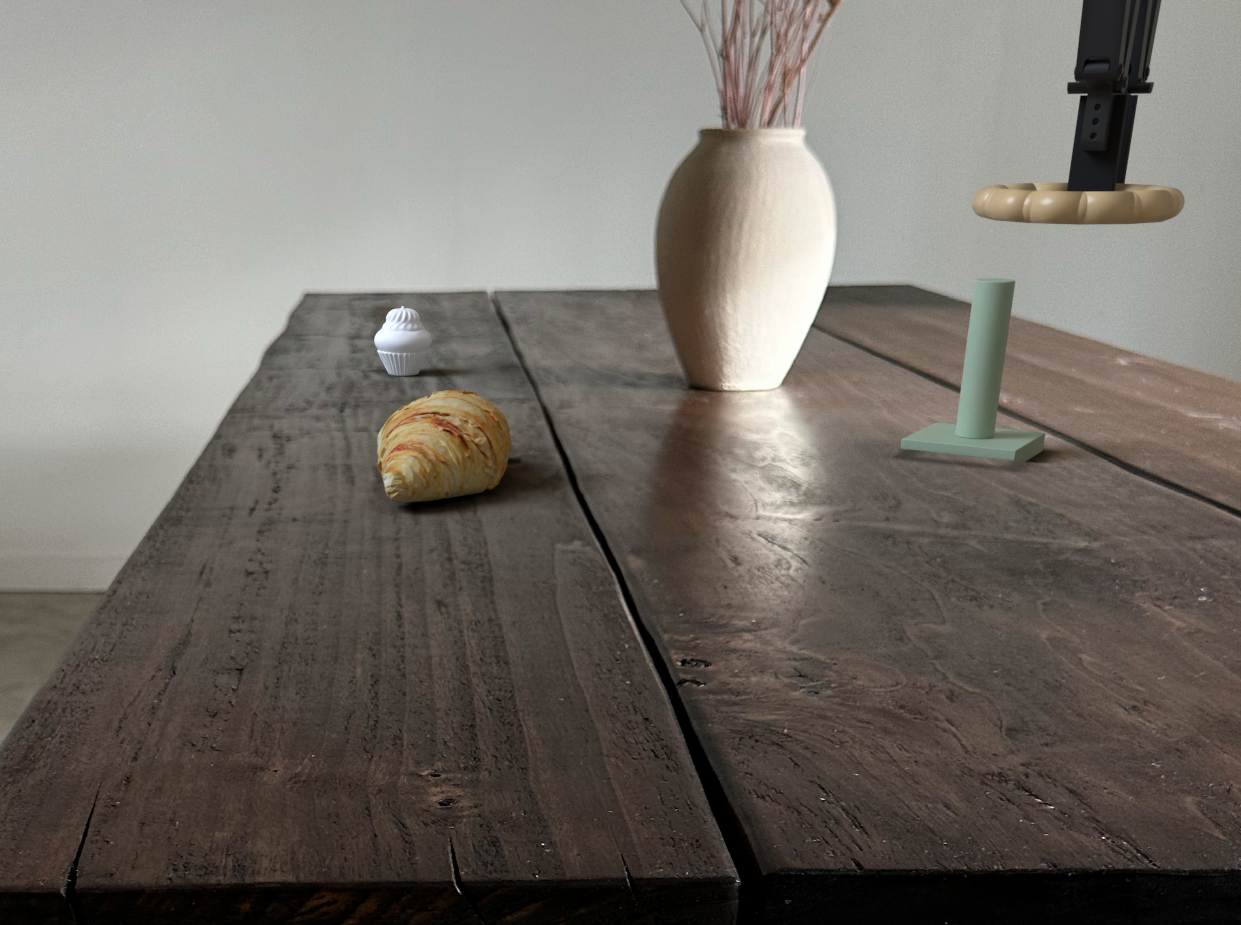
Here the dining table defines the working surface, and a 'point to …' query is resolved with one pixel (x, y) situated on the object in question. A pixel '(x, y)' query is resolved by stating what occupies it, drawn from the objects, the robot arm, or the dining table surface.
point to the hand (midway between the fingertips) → (1093, 206)
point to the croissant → (443, 447)
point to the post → (982, 387)
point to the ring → (1077, 204)
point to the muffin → (403, 342)
